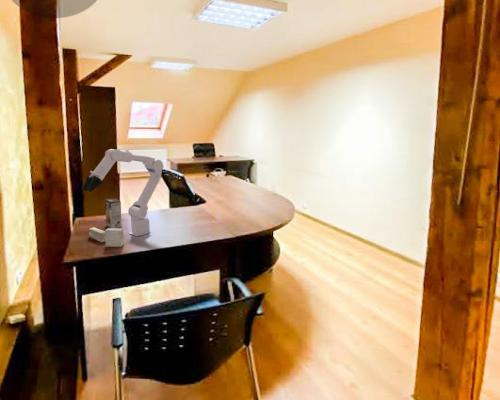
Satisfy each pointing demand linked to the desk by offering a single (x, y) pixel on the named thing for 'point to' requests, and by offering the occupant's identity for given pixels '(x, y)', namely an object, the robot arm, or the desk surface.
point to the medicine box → (114, 237)
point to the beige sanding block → (97, 234)
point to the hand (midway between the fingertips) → (86, 190)
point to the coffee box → (113, 213)
